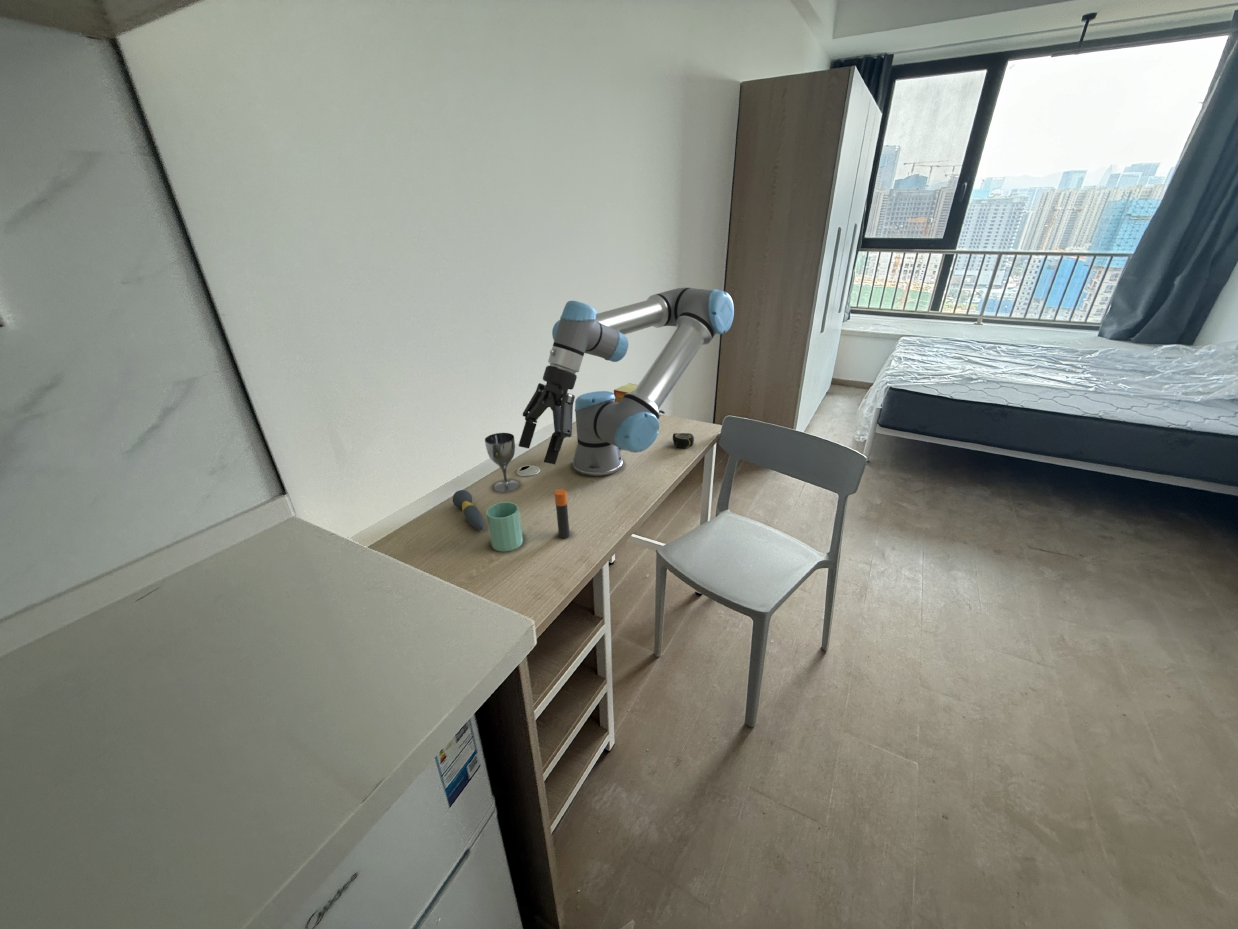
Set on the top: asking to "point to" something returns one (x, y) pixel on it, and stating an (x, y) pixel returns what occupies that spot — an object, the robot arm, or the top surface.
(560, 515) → the marker
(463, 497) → the paintbrush
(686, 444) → the tape measure
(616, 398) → the baking soda box
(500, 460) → the wine glass
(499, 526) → the green pen cup
